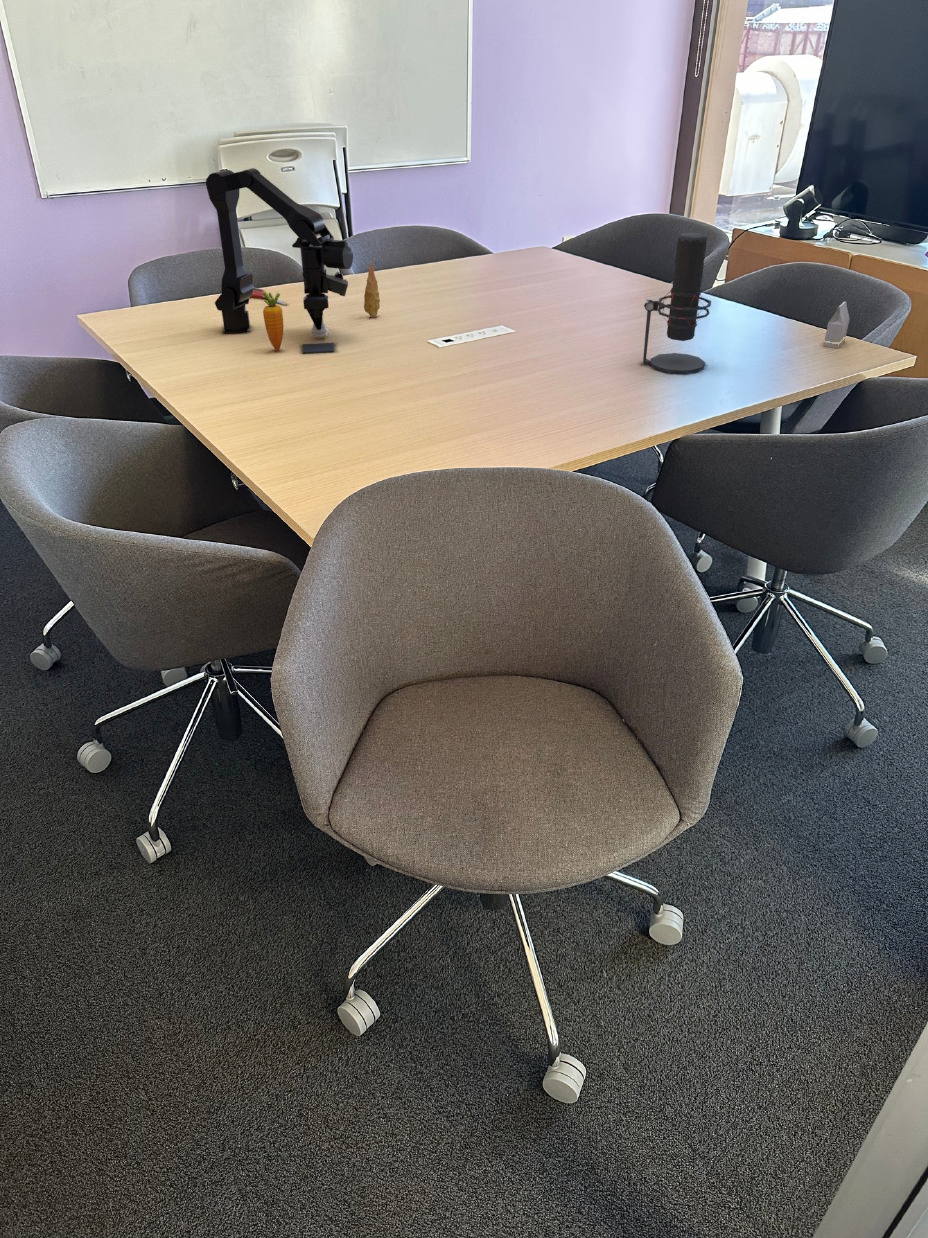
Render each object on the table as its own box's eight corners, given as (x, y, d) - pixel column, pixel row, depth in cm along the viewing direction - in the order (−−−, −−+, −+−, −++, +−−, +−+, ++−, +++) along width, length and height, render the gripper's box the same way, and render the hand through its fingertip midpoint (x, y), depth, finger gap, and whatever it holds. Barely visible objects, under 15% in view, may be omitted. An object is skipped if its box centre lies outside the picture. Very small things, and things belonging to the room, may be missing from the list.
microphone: (668, 378, 213) (684, 243, 196) (634, 362, 222) (646, 232, 206) (716, 368, 218) (735, 236, 201) (680, 353, 228) (696, 226, 211)
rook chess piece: (331, 333, 242) (328, 303, 238) (322, 338, 239) (319, 307, 235) (317, 331, 244) (314, 301, 239) (308, 336, 241) (305, 305, 236)
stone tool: (369, 320, 256) (366, 264, 248) (364, 318, 257) (360, 263, 249) (382, 316, 259) (378, 261, 251) (376, 314, 261) (372, 260, 252)
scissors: (285, 305, 270) (284, 300, 269) (234, 296, 279) (233, 291, 279) (302, 299, 275) (301, 294, 275) (251, 291, 285) (251, 286, 284)
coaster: (302, 353, 231) (302, 352, 231) (303, 345, 237) (303, 344, 237) (334, 352, 232) (333, 350, 232) (333, 344, 238) (333, 342, 238)
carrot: (290, 348, 235) (283, 289, 226) (281, 354, 231) (274, 294, 222) (273, 347, 236) (266, 287, 228) (264, 352, 232) (256, 292, 224)
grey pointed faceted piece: (844, 341, 235) (853, 302, 229) (838, 348, 230) (846, 308, 224) (830, 339, 236) (838, 300, 231) (823, 346, 232) (831, 306, 226)
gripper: (345, 273, 225) (350, 336, 233) (344, 257, 240) (348, 316, 249) (300, 275, 224) (307, 338, 232) (301, 258, 239) (307, 318, 248)
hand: (319, 327), depth 240 cm, fingers closed on rook chess piece, 3 cm apart
